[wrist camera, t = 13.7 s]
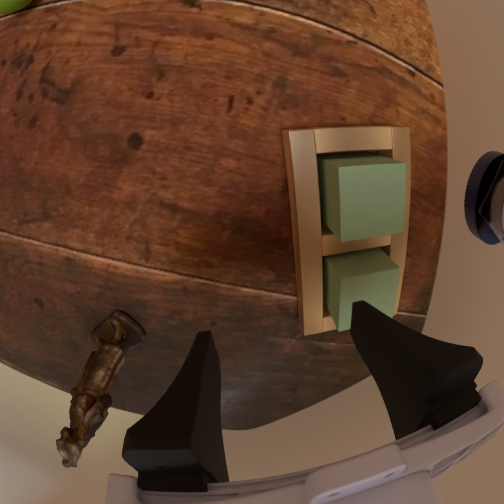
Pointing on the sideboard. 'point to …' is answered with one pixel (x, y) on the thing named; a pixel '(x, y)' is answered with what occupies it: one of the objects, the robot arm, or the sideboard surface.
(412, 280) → the sideboard surface
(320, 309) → the backing frame
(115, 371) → the figurine
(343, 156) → the green cubic block
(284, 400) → the sideboard surface
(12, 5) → the snail figurine
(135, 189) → the sideboard surface
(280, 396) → the sideboard surface
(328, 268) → the olive green cubic block
